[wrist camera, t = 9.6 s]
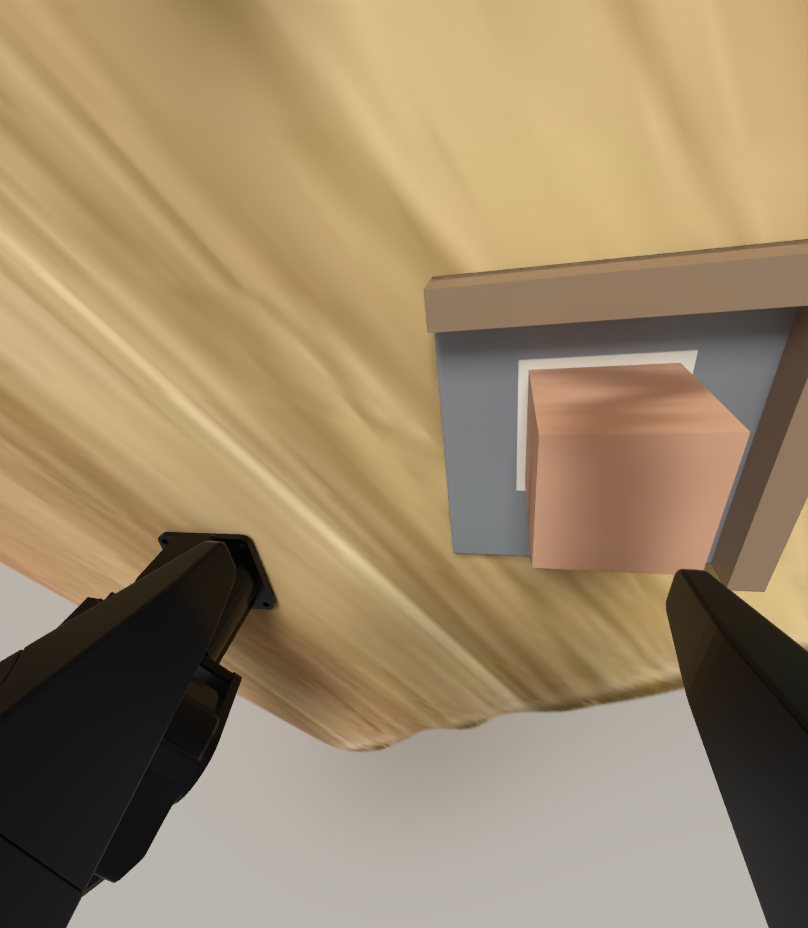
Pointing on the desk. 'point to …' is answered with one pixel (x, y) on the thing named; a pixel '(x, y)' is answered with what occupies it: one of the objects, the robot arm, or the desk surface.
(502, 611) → the desk surface
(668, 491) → the cube
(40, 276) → the desk surface
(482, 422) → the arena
